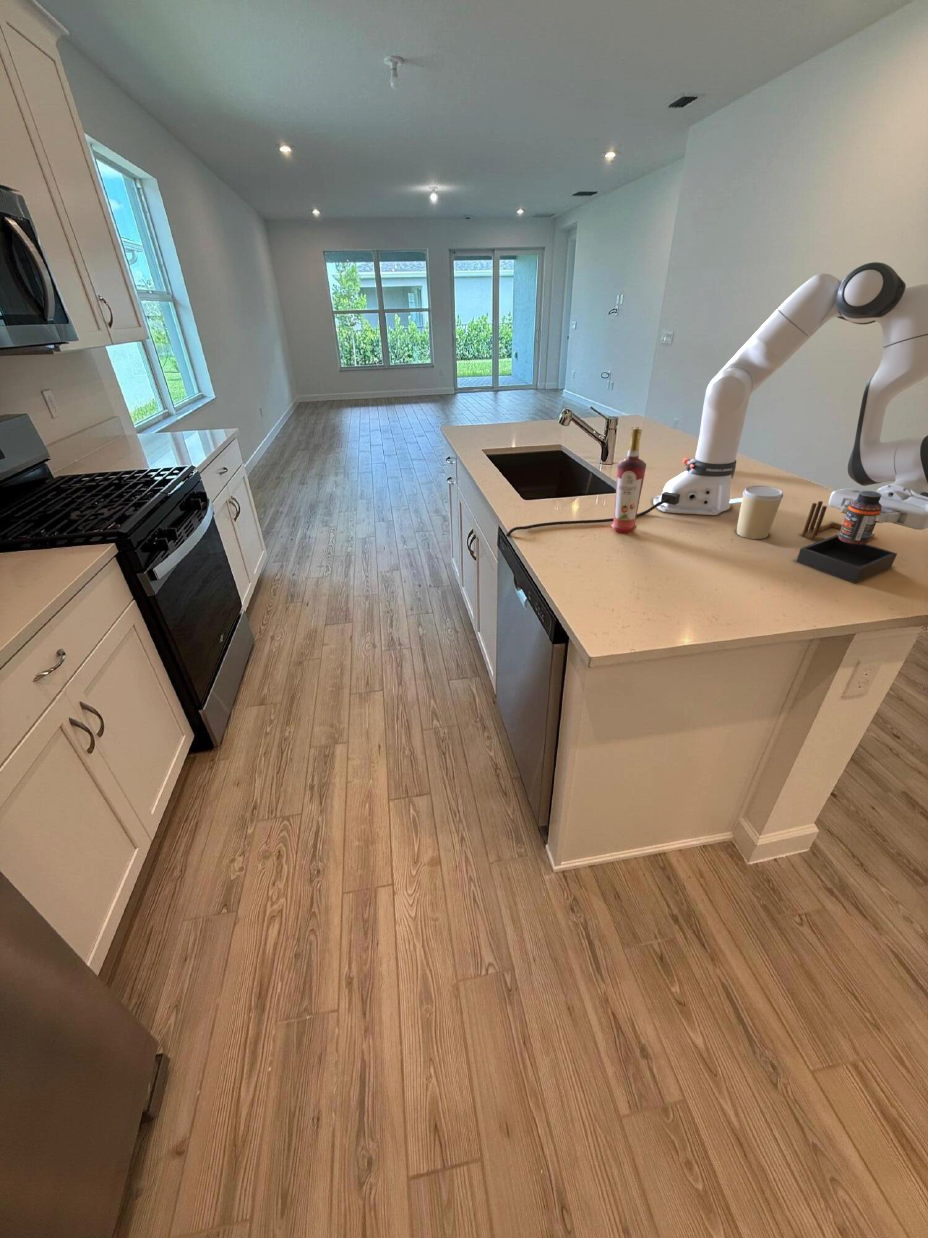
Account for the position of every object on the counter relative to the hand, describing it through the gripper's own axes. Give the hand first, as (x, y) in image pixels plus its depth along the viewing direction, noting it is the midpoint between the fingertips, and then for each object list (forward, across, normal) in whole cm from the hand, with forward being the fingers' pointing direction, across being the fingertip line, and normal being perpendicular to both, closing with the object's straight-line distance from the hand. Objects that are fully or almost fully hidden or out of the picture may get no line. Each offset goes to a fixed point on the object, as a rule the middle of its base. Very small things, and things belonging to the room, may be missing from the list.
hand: (860, 514), depth 114 cm
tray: (-1, 0, +13) cm, 13 cm away
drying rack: (-16, -10, +13) cm, 23 cm away
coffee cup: (0, -24, +13) cm, 27 cm away
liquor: (+26, -45, +13) cm, 54 cm away
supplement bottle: (-1, 0, +7) cm, 7 cm away
